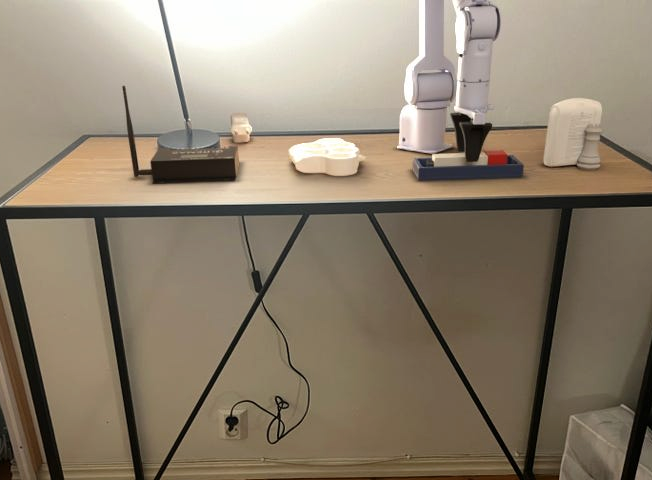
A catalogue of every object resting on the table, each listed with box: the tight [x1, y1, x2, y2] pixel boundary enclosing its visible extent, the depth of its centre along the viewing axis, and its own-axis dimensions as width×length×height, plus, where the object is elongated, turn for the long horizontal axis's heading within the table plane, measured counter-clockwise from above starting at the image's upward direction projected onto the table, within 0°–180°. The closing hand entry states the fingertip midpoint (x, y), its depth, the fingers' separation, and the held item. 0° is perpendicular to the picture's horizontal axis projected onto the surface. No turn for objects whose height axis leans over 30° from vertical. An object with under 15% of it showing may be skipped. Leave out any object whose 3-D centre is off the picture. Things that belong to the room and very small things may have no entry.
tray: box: [412, 154, 525, 182], centre depth 137 cm, size 20×8×2 cm, turn 92°
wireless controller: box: [121, 85, 240, 185], centre depth 139 cm, size 20×14×17 cm
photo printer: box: [542, 97, 603, 167], centre depth 139 cm, size 10×4×12 cm, turn 105°
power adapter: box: [229, 112, 253, 144], centre depth 164 cm, size 11×5×6 cm, turn 9°
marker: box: [426, 149, 508, 167], centre depth 137 cm, size 15×3×3 cm, turn 92°
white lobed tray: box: [288, 137, 367, 177], centre depth 145 cm, size 3×18×15 cm
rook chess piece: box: [576, 123, 604, 171], centre depth 138 cm, size 4×4×8 cm
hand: (467, 156), depth 136 cm, fingers open, 7 cm apart
